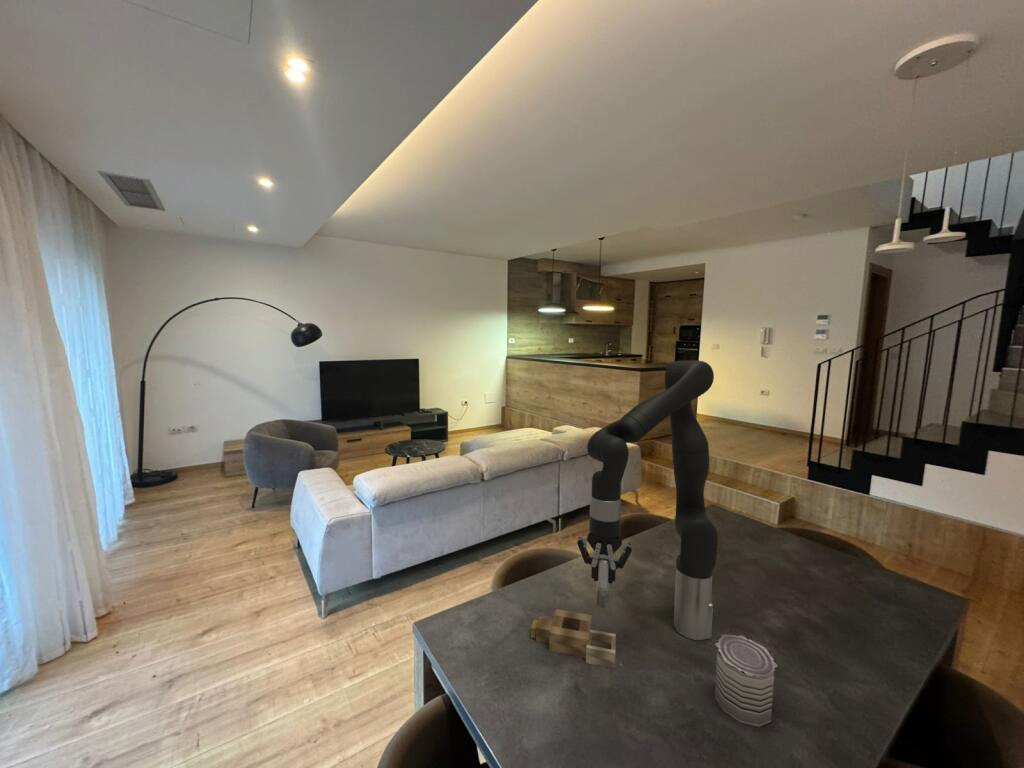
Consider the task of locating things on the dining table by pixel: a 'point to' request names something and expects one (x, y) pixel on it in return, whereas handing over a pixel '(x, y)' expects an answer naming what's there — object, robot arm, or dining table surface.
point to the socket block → (565, 632)
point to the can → (744, 679)
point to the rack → (601, 649)
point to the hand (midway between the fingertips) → (603, 580)
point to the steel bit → (603, 581)
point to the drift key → (534, 628)
